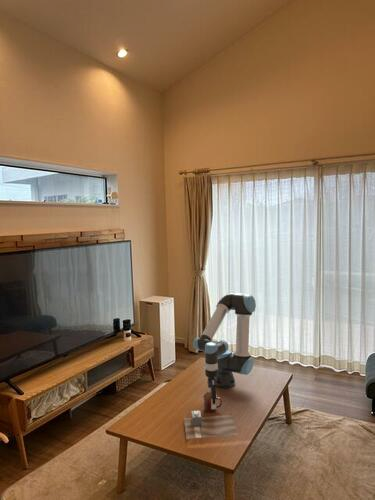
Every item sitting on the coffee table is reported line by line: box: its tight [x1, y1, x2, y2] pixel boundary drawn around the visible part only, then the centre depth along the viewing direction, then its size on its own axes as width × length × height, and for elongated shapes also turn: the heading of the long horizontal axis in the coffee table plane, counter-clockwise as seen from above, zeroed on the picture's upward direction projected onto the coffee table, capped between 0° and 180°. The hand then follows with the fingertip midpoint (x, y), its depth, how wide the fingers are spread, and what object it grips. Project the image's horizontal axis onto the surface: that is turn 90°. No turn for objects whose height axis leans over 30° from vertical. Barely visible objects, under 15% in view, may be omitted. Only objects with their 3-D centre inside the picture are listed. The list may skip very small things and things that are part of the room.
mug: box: [202, 391, 223, 414], centre depth 223 cm, size 12×9×10 cm
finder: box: [190, 410, 202, 426], centre depth 211 cm, size 7×5×5 cm
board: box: [183, 414, 239, 442], centre depth 208 cm, size 23×28×1 cm
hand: (212, 403), depth 223 cm, fingers open, 13 cm apart
